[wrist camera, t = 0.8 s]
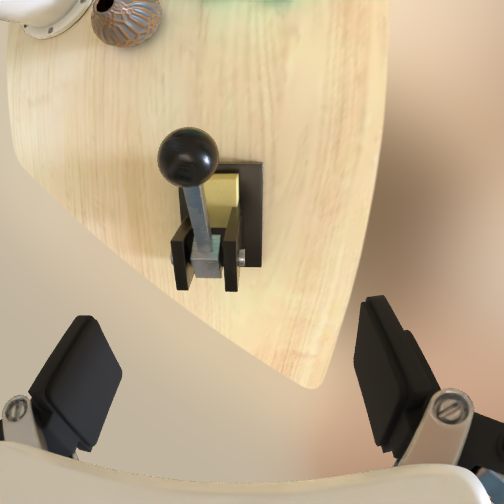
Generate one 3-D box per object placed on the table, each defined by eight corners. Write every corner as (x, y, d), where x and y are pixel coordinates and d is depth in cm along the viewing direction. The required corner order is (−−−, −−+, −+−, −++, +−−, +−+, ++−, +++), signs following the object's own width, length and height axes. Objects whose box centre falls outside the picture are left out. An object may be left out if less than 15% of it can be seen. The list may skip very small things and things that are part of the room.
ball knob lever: (160, 118, 17) (143, 152, 14) (219, 114, 16) (212, 148, 14) (192, 249, 27) (186, 283, 25) (232, 249, 27) (229, 284, 25)
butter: (200, 173, 31) (195, 179, 29) (238, 173, 31) (236, 179, 29) (202, 218, 33) (198, 228, 31) (239, 218, 33) (237, 228, 31)
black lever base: (179, 163, 32) (139, 193, 21) (262, 162, 32) (264, 190, 21) (187, 261, 37) (161, 324, 26) (261, 262, 37) (261, 328, 26)
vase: (131, 63, 27) (92, 52, 19) (102, 27, 24) (61, 11, 16) (180, 23, 25) (155, -2, 17) (148, -12, 22) (117, -40, 15)
